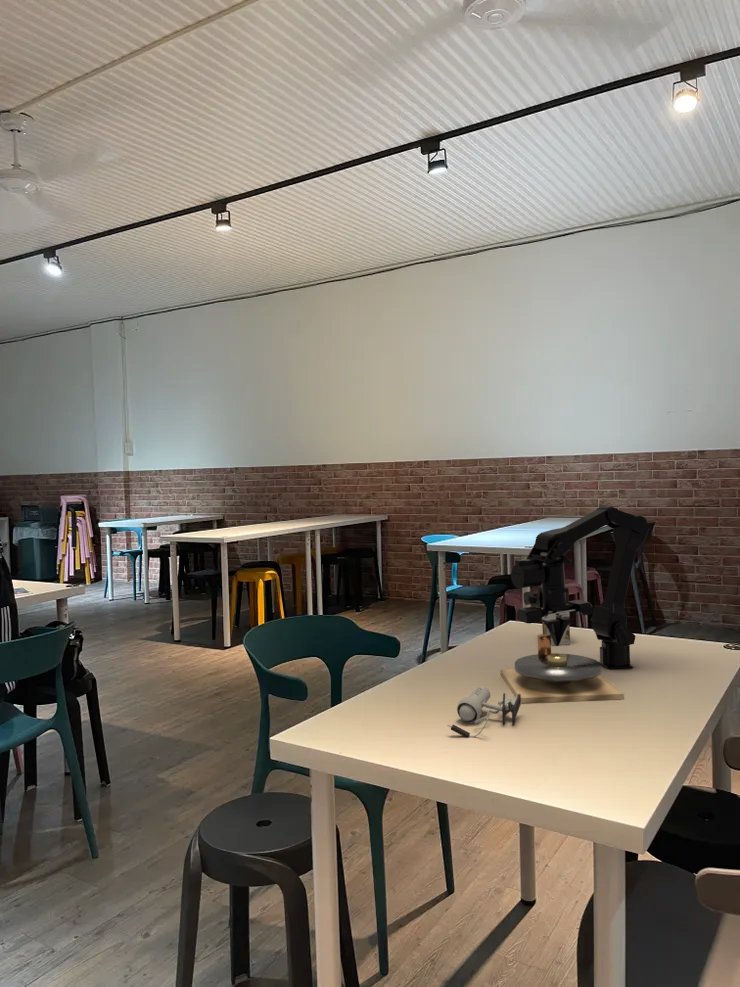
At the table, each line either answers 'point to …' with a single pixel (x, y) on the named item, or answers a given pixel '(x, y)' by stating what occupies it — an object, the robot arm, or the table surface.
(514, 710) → the clip-on lamp
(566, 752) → the table surface
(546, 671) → the handwheel
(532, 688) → the board
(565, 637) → the coffee box
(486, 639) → the table surface
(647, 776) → the table surface
